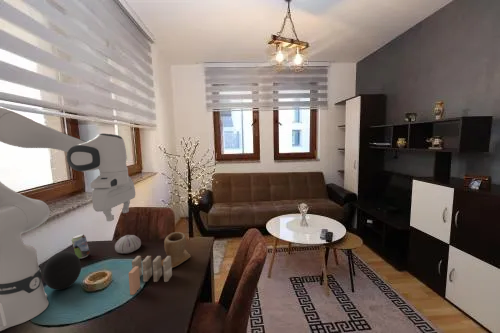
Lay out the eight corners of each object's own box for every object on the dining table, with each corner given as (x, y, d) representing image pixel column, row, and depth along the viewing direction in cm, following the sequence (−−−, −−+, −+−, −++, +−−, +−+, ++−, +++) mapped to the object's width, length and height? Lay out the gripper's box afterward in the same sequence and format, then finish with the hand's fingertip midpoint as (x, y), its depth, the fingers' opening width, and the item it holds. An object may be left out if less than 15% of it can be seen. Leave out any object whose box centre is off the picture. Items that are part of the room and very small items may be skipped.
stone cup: (173, 273, 110) (171, 241, 108) (156, 266, 116) (154, 236, 115) (197, 259, 123) (196, 230, 121) (181, 253, 129) (179, 226, 127)
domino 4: (153, 281, 104) (152, 261, 103) (158, 275, 109) (157, 255, 108) (157, 281, 104) (156, 261, 103) (162, 275, 108) (160, 255, 108)
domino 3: (143, 281, 104) (142, 261, 103) (148, 275, 109) (147, 255, 108) (147, 281, 104) (145, 261, 103) (152, 275, 109) (151, 255, 108)
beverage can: (88, 258, 125) (86, 236, 124) (71, 261, 123) (69, 238, 121) (91, 253, 131) (89, 231, 130) (75, 255, 128) (73, 234, 127)
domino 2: (130, 294, 95) (128, 273, 94) (136, 287, 100) (135, 266, 99) (134, 294, 95) (132, 273, 94) (140, 287, 100) (138, 266, 99)
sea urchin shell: (146, 245, 141) (145, 231, 140) (131, 256, 127) (130, 241, 126) (125, 244, 143) (124, 230, 142) (109, 254, 129) (107, 240, 128)
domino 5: (164, 281, 103) (163, 261, 102) (168, 275, 108) (167, 255, 107) (167, 281, 103) (166, 261, 102) (172, 275, 108) (171, 255, 107)
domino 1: (133, 281, 104) (131, 261, 103) (138, 274, 109) (137, 255, 108) (136, 281, 104) (135, 261, 103) (142, 274, 109) (141, 255, 108)
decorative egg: (52, 282, 104) (48, 249, 102) (86, 276, 108) (83, 244, 107) (39, 300, 93) (34, 262, 91) (77, 292, 97) (73, 256, 95)
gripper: (122, 175, 97) (125, 208, 99) (86, 184, 77) (90, 226, 79) (138, 174, 97) (140, 208, 99) (105, 183, 77) (109, 226, 78)
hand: (118, 216), depth 88 cm, fingers open, 8 cm apart
